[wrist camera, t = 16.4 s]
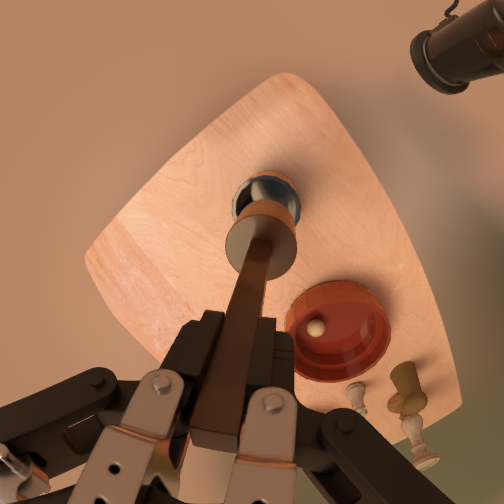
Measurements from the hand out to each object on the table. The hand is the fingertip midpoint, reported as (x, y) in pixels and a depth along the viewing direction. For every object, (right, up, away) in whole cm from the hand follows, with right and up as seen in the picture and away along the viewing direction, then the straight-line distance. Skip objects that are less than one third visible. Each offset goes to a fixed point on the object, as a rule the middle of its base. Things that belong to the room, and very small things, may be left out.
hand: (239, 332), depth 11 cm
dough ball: (+11, -9, +32) cm, 35 cm away
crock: (+3, +11, +27) cm, 30 cm away
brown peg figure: (+33, -22, +36) cm, 54 cm away
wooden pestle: (+2, +5, +13) cm, 14 cm away
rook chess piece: (+22, -26, +39) cm, 52 cm away
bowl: (+15, -9, +34) cm, 38 cm away
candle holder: (+37, -32, +40) cm, 63 cm away
